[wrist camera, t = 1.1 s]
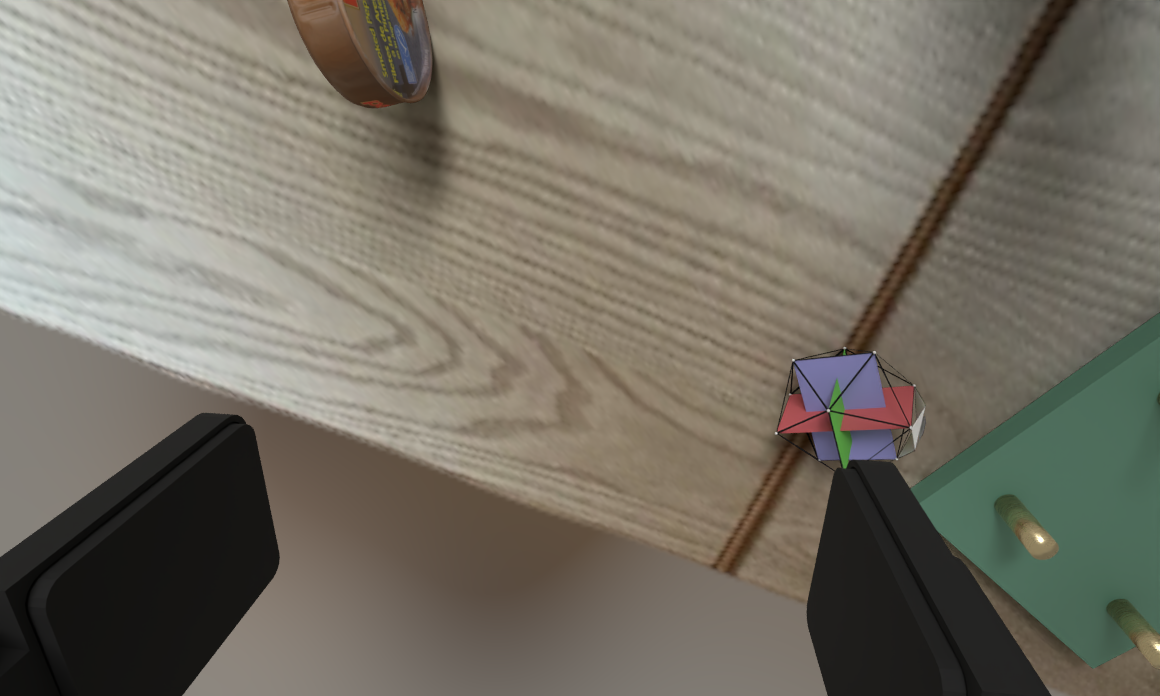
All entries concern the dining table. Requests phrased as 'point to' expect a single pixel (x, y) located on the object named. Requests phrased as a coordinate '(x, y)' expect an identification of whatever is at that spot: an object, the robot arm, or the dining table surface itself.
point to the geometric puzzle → (850, 409)
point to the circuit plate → (1070, 498)
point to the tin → (368, 47)
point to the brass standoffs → (1045, 547)
